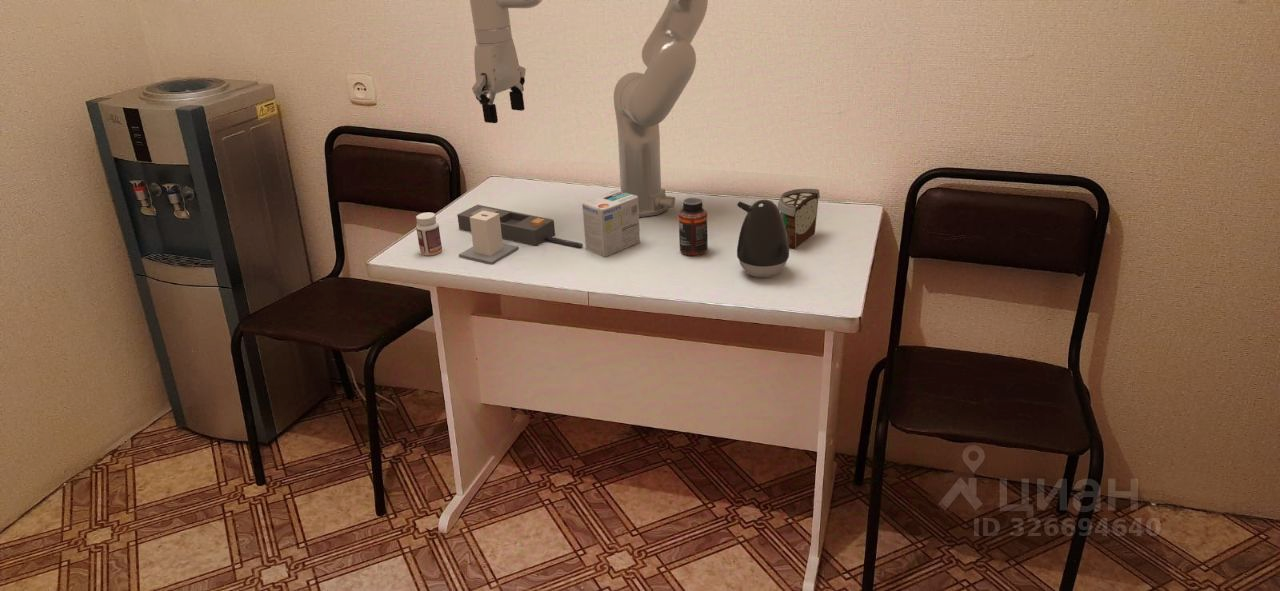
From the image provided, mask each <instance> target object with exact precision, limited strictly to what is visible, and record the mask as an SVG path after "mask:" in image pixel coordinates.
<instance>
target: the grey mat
mask: <svg viewBox="0 0 1280 591" xmlns="http://www.w3.org/2000/svg"><path fill="white" fill-rule="evenodd" d="M518 250H519V246H517V245H514V244H509V243H504V242H503V249H501V250H500V251H498V252H496V253H495V254H493V255H491V256H488V255H484V254H479V253H475V252H474V247H473V246H471V247H469V248H468V249H466V250H464V251H462V252H461V253H459V254H458V257H459V258H461V259H466V260H471V261H475V262H479V263H483V264H488V265H494V264H496V263H497V262H499V261H501V260H503V259H504V258H506V257H507V256H509V255H511V254H513V253H515V252H516V251H518Z"/></svg>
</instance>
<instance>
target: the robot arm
mask: <svg viewBox="0 0 1280 591" xmlns="http://www.w3.org/2000/svg"><path fill="white" fill-rule="evenodd" d="M542 1H543V0H469V3H470V11H471V15H472V16H471V17H472V23H473V28H474V29H473V30H474V31H473V32H474V36H475V44H476V45H474V53H473V54H474V55H473V56H474V58H473V60H474V73H475V83H474V84H473V86H472V88H471V89H472V92H473V94H474V95H475V99H476V100H477V101H478V102H479V105H481V107H482V114H483V119H484V120H483V121H484V122H485V123H486V124H487V123H488V124H497V123H499V120H498V112H497V107H496V106H497V105H496V104H495V103H494V102H495V99H496V95H497V94H499V93H503V92H504V91H506V90H511V91H509V93H508V94H509V101H510V107H511V108H510V109H511V110H512V111H521V112H522V111H525V109H526V108H525V102H524V100H525V99H524V94H523V92H524V90H525V88H524V84H525V82H526V79H525V78H526V72H527V69H526V68H525V67H523V66H521V65H520V64H519V60H518V59H519V58H518V54H517V50H516V46H515V43H514V39H513V35H512V28H511V18H510V12H509V9H532V8H534V7H536V6H539V4H540V3H542ZM708 4H709V1H708V0H668V2H667V4H666V7H665V8H664V10H663V12H662V14H661V15H660V17H659V19H658V21H657V23H656V24H655V26H654V28H653V29H652V31H651V32H650V35H649V36H648V38H647V39H646V41H645V43H644V44H643V47H642V49H641V59H642V62H643V64H644V65H645V67H647V68H646V70H645V71H644V72H643V73H642V72H637V71H636V72H633V71H632V72H628V73H626V74H625V75H623V76H621V77H620V78H619V80H618V81H617V82H616V84H615V87H614V89H613V90H614V91H613V105H614V106H613V107H614V112H615V120H616V127H617V140H618V142H617V143H618V146H617V147H618V158H619V159H618V162H619V180H620V183H619V184H620V191H622V192H625V193H629V194H632V195H636V196H638V208H639V218H640V217H641V218H643V217H644V218H645V217H652V216H656V215H660V214H662V213H664V212H665V211H667V209H674V207H675V203H676V202H675V201H676V198H675V196H671V195H670V196H668V195H667V194H666V189H665V188H662V178H661V177H662V173H661V171H662V170H661V146H660V145H661V141H660V140H661V139H660V137H661V134H660V133H661V132H660V123H661V122H663V121H664V120H665V119H666V118H667V117H668V115H669V114H670V113H671V111H672V110H673V108H674V106H675V104H676V103H677V101H678V100H679V98H680V96H681V95H682V93H683V92H684V90H685V88H686V87H687V85H688V83H689V82H690V80H691V78H692V76H693V75H694V71H695V69H696V62H697V56H696V55H697V54H696V51H695V48H694V46H693V45H692V44H691V43H692V42H693V40H694V39H695V36H696V34H697V33H698V31H699V29H700V27H701V26H702V23H703V21H704V18H705V16H706V13H707V9H708ZM488 96H489V97H488Z"/></svg>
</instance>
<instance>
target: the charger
mask: <svg viewBox="0 0 1280 591" xmlns="http://www.w3.org/2000/svg"><path fill="white" fill-rule="evenodd" d="M470 224H471V232H470V233H471V236H472V237H471V238H472V247H474V252H475V253H479V254H484V255H488V256H491V255H493V254H495V253H496V252H498V251H500V250H501V249H503V243H504V242H503V239H502V233H501V224H500V216H499V213H494V212H488V211H481V212H479V213H477V214H475V215H473V216H471V217H470Z"/></svg>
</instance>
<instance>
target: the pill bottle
mask: <svg viewBox="0 0 1280 591" xmlns="http://www.w3.org/2000/svg"><path fill="white" fill-rule="evenodd" d="M415 218H416V225H415V226H416V227H415V229H416V235H417V239H418V240H417V241H418V247H419V253H420V254H421V255H423V256H430V257H431V256H435V255H439V254H440V253H441V252H442V251H443V245H442V239H441V238H442V237H441V233H440V231H441V230H440V225H439V223H438V222H437V217H436V214H435V213H434V212H421V213H419V214H418V215H416V216H415Z"/></svg>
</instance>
